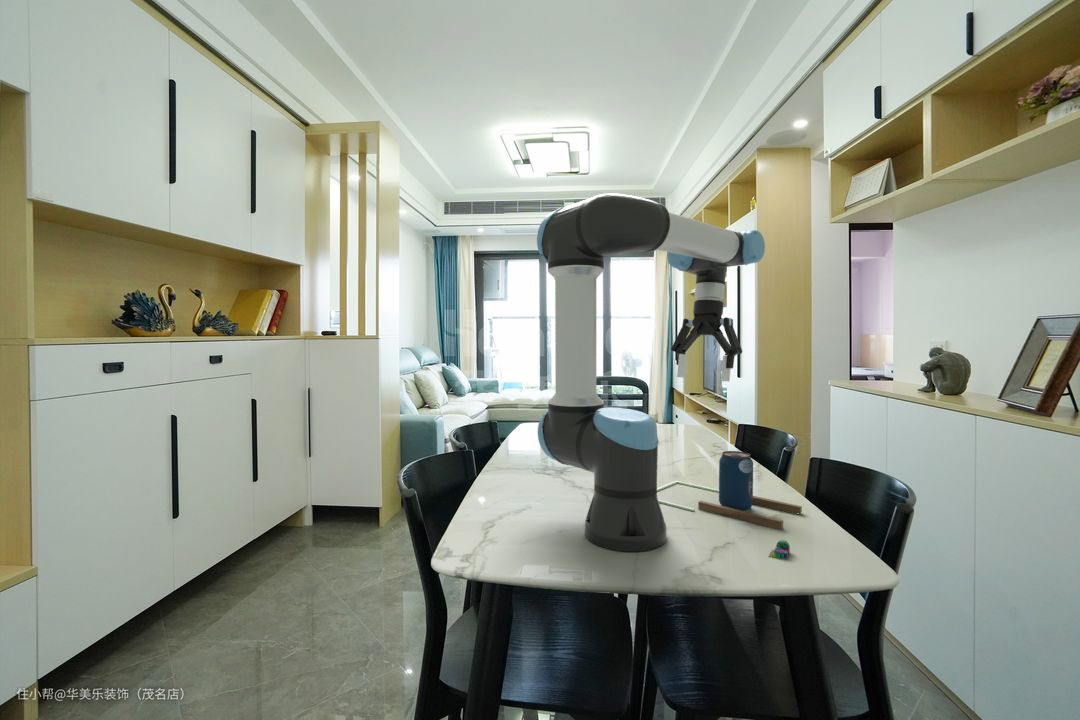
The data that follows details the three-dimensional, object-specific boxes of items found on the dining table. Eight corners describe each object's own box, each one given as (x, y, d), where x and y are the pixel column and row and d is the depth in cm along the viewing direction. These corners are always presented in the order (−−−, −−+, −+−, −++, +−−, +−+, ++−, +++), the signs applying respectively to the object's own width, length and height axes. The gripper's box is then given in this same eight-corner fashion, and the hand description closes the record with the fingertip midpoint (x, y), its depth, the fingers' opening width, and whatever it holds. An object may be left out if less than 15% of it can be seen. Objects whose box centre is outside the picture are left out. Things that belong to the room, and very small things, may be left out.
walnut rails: (780, 529, 93) (781, 522, 93) (698, 508, 105) (698, 502, 105) (801, 513, 102) (801, 506, 102) (723, 495, 114) (723, 489, 114)
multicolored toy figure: (771, 550, 84) (771, 537, 84) (789, 554, 83) (789, 541, 83) (766, 559, 81) (767, 545, 81) (785, 563, 79) (785, 549, 79)
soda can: (758, 513, 102) (758, 457, 102) (725, 513, 102) (725, 457, 102) (745, 502, 109) (745, 450, 109) (714, 502, 109) (714, 450, 109)
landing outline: (693, 511, 103) (693, 509, 103) (638, 497, 113) (638, 495, 113) (727, 493, 116) (728, 491, 116) (676, 481, 125) (676, 480, 125)
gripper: (760, 300, 121) (753, 383, 121) (679, 305, 141) (673, 376, 141) (744, 295, 117) (737, 382, 117) (662, 301, 137) (656, 375, 137)
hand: (702, 379), depth 129 cm, fingers open, 13 cm apart
